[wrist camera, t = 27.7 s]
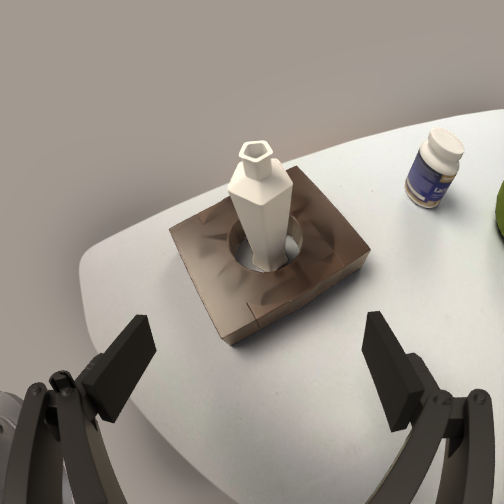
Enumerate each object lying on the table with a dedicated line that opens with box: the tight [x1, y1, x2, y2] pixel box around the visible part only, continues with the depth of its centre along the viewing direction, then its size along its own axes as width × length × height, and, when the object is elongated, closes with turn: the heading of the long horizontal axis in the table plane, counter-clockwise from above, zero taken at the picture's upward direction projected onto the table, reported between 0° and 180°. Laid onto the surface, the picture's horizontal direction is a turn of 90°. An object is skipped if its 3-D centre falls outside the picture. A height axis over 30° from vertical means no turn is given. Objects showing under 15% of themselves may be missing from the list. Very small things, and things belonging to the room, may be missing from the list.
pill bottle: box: [405, 127, 464, 208], centre depth 28 cm, size 6×6×10 cm
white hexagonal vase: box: [227, 141, 293, 272], centre depth 23 cm, size 5×4×15 cm
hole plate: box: [169, 166, 371, 346], centre depth 28 cm, size 16×13×4 cm
